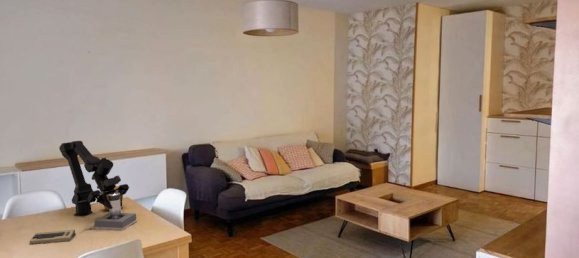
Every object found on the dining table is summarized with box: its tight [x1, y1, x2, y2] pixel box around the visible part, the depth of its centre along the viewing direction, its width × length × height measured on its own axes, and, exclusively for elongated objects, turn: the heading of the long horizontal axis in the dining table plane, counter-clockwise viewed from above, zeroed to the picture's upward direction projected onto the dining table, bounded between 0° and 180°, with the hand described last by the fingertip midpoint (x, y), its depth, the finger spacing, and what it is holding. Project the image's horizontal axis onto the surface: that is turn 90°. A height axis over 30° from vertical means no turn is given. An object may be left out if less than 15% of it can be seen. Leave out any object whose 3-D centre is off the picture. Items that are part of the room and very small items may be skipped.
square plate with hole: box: [93, 212, 137, 231], centre depth 195 cm, size 14×12×4 cm
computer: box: [29, 229, 76, 245], centre depth 177 cm, size 16×8×3 cm, turn 103°
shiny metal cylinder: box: [108, 192, 122, 219], centre depth 194 cm, size 5×5×13 cm
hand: (116, 207), depth 193 cm, fingers closed on shiny metal cylinder, 5 cm apart
